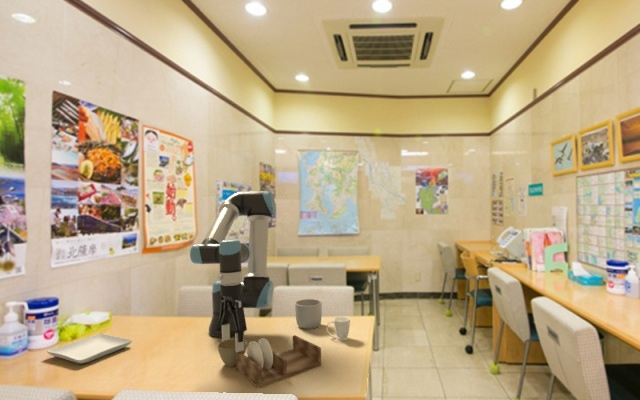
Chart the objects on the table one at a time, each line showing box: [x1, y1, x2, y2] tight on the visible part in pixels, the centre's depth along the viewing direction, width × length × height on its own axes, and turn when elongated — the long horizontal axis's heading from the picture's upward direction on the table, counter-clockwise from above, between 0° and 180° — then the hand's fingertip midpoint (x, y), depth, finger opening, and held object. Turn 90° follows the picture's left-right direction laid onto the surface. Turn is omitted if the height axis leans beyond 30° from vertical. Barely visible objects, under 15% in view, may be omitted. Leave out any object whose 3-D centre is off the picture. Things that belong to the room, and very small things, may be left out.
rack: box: [235, 335, 322, 388], centre depth 121 cm, size 16×24×6 cm, turn 128°
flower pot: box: [217, 338, 248, 368], centre depth 125 cm, size 10×10×7 cm
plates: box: [246, 337, 273, 370], centre depth 117 cm, size 10×4×10 cm, turn 38°
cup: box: [326, 316, 351, 342], centre depth 147 cm, size 7×10×8 cm
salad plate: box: [46, 333, 133, 365], centre depth 139 cm, size 21×21×3 cm
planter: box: [294, 298, 323, 330], centre depth 164 cm, size 12×12×11 cm
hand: (232, 346), depth 125 cm, fingers open, 11 cm apart
